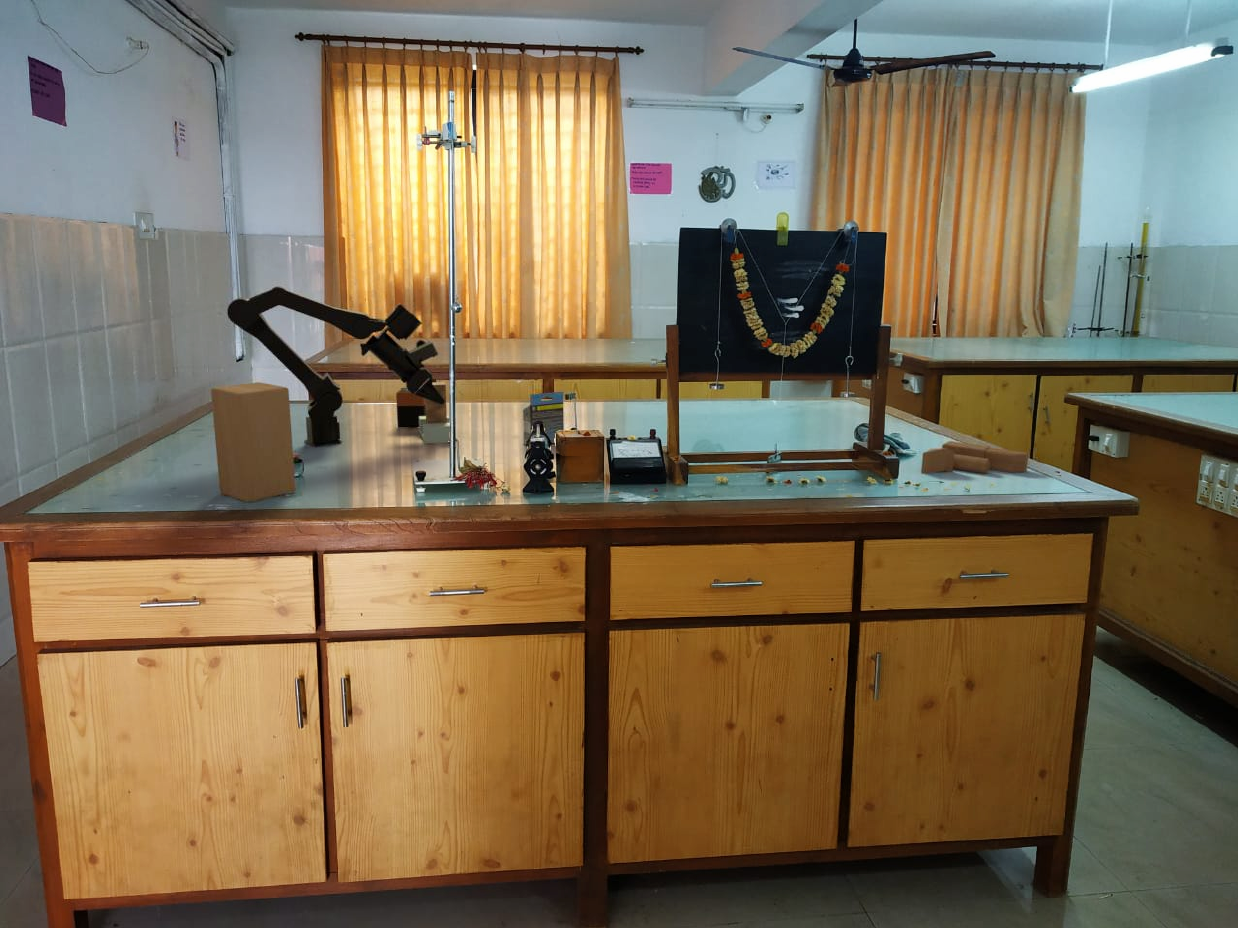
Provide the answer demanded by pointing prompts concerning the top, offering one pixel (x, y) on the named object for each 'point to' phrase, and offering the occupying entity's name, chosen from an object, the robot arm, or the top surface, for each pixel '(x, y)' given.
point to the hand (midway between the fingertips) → (441, 399)
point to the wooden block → (253, 440)
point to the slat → (437, 406)
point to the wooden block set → (972, 459)
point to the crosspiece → (434, 431)
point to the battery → (409, 408)
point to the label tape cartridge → (544, 414)
